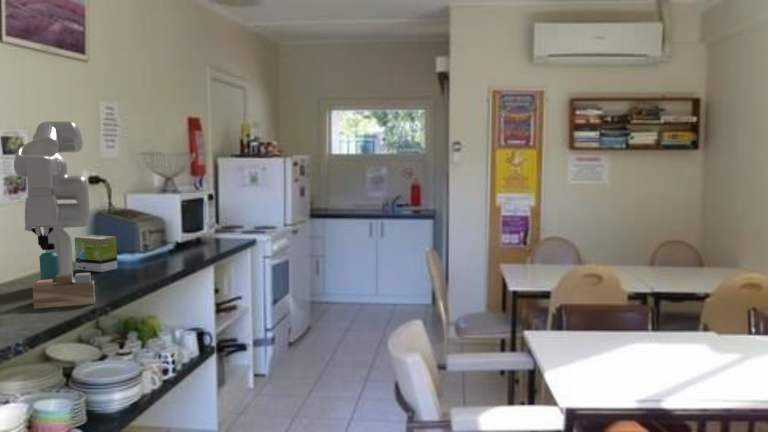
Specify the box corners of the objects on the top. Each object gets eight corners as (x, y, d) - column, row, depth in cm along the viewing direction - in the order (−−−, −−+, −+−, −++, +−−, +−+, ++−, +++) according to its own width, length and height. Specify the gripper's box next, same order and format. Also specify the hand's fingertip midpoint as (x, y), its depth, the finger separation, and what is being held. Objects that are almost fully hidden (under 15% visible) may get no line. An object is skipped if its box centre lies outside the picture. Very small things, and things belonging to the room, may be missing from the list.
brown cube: (57, 289, 241) (57, 274, 241) (72, 288, 243) (71, 273, 242) (56, 291, 237) (55, 276, 236) (71, 290, 238) (70, 275, 238)
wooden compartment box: (36, 304, 240) (35, 284, 240) (95, 300, 246) (94, 280, 246) (33, 308, 234) (32, 287, 233) (94, 303, 240) (93, 283, 239)
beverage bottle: (53, 301, 245) (50, 244, 243) (36, 300, 246) (33, 244, 244) (65, 297, 251) (62, 242, 249) (49, 297, 252) (46, 241, 250)
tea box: (75, 270, 309) (73, 237, 307) (92, 266, 318) (90, 234, 316) (101, 272, 303) (100, 238, 302) (118, 268, 312) (117, 235, 311)
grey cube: (76, 287, 243) (76, 273, 243) (91, 286, 245) (90, 272, 244) (75, 290, 239) (75, 275, 238) (90, 289, 240) (89, 274, 240)
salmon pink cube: (38, 294, 239) (38, 280, 239) (53, 293, 241) (52, 279, 240) (37, 297, 235) (36, 282, 234) (52, 296, 236) (51, 281, 236)
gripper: (66, 191, 241) (68, 244, 242) (17, 193, 236) (20, 247, 238) (63, 193, 234) (66, 247, 235) (13, 194, 229) (17, 250, 230)
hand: (43, 247), depth 236 cm, fingers closed
